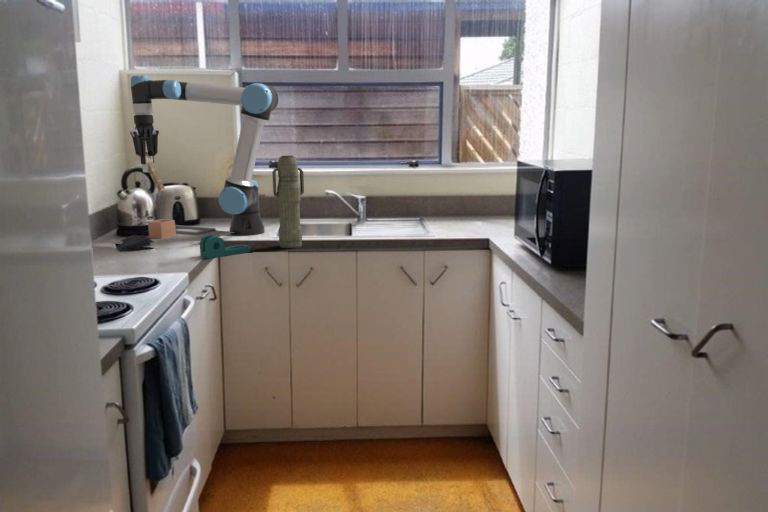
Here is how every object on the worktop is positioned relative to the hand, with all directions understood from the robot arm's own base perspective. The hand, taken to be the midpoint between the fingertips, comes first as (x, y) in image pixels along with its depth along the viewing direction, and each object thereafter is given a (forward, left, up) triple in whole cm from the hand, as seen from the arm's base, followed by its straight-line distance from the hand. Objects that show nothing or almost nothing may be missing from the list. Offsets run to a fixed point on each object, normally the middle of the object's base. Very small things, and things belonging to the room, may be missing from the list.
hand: (148, 171), depth 288 cm
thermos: (-65, -10, -29) cm, 72 cm away
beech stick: (-3, 0, -9) cm, 9 cm away
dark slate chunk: (-6, +15, -29) cm, 33 cm away
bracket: (-52, +13, -29) cm, 61 cm away
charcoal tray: (-3, -14, -28) cm, 32 cm away
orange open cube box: (-5, 0, -28) cm, 29 cm away
